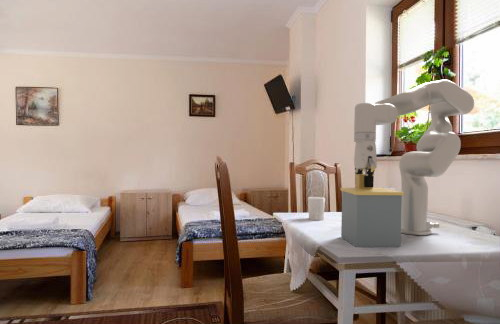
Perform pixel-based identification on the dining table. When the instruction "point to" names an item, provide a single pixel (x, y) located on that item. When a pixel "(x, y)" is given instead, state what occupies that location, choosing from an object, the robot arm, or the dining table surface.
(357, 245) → the tub
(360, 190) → the lid
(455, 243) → the dining table surface
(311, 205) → the white cup
